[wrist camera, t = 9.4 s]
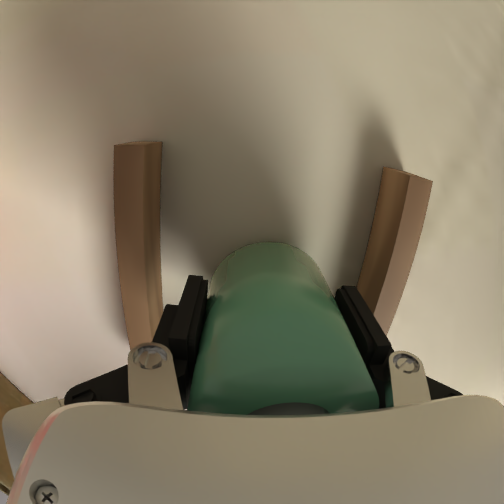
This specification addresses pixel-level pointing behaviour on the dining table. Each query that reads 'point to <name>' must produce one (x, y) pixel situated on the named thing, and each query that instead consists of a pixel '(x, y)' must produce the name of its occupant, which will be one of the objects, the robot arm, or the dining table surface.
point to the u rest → (148, 239)
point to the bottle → (276, 340)
